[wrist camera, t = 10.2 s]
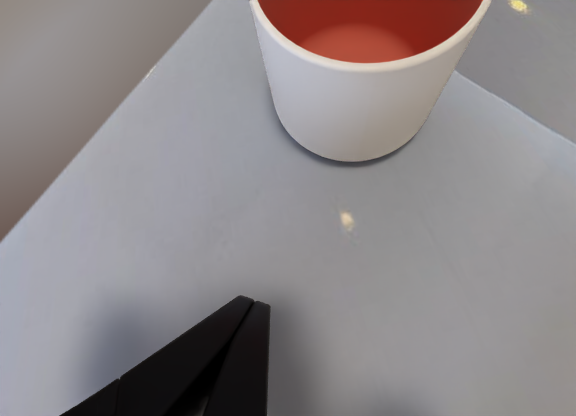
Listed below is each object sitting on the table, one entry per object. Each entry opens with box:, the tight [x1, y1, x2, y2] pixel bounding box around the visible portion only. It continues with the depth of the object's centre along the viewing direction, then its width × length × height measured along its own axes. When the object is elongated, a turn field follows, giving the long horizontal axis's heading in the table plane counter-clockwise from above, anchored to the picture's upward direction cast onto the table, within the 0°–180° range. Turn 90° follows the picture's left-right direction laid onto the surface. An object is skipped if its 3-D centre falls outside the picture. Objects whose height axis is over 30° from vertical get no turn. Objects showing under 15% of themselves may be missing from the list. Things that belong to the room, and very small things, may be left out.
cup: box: [249, 0, 492, 162], centre depth 19 cm, size 10×10×10 cm
